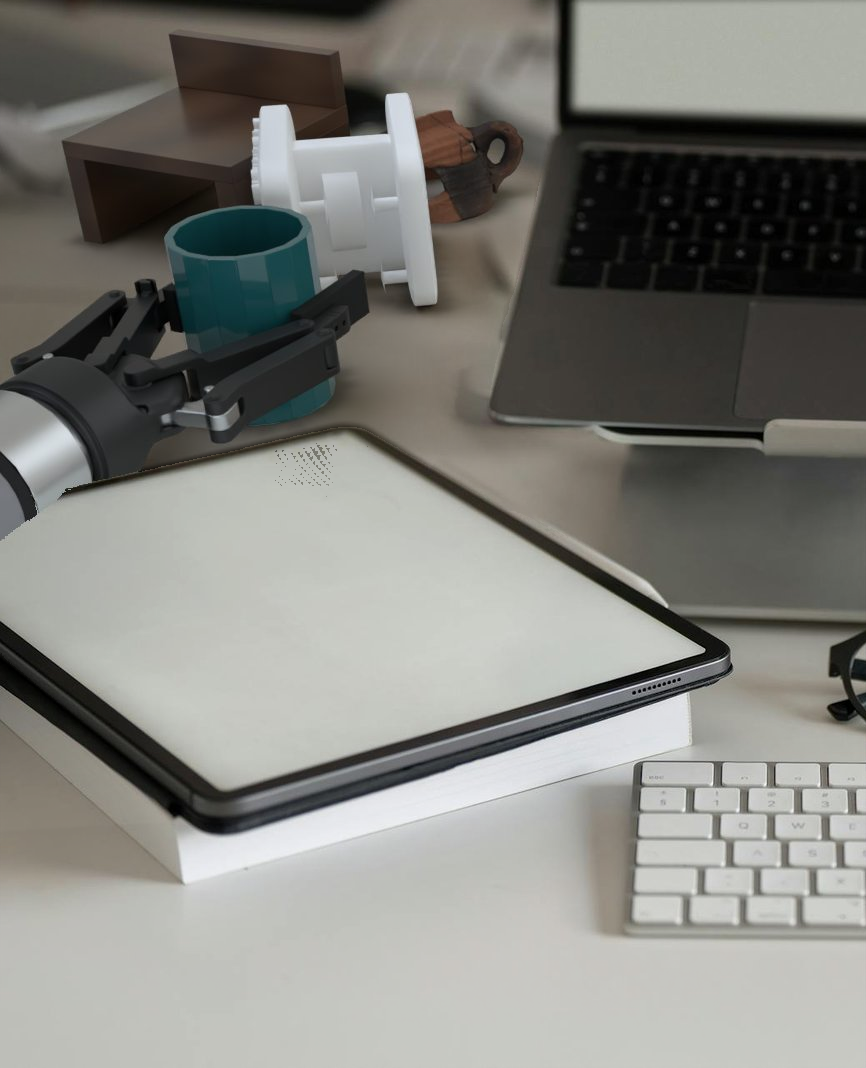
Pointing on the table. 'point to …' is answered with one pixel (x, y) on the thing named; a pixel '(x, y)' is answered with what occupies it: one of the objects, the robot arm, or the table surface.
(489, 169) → the pottery mug
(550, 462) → the table surface
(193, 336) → the teal cup
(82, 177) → the desk shelf
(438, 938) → the table surface
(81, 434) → the robot arm
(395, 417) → the table surface
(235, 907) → the table surface
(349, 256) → the cable organizer
